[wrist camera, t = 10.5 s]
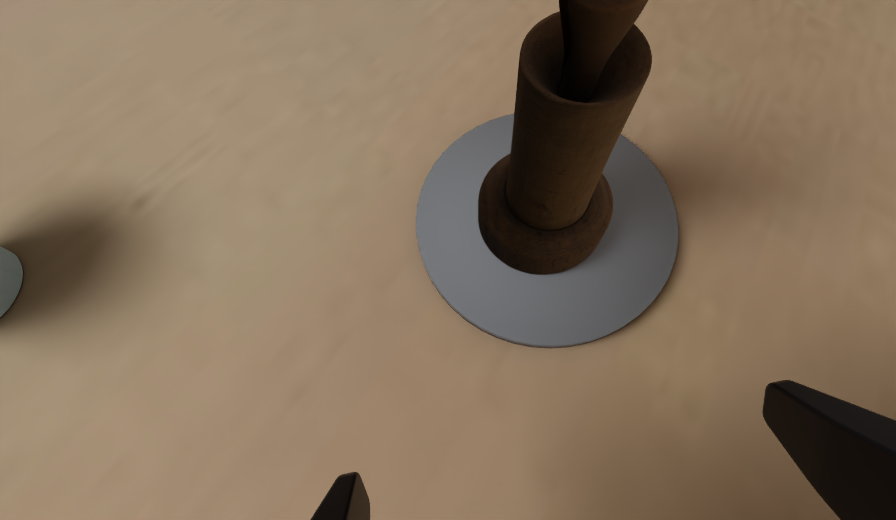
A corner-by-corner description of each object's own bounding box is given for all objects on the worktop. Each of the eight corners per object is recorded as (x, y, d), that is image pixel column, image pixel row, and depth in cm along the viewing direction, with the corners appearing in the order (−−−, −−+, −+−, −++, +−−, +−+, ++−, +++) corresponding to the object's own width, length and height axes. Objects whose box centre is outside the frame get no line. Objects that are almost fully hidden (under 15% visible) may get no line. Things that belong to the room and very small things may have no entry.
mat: (723, 219, 23) (733, 211, 22) (554, 408, 21) (558, 407, 20) (530, 85, 27) (532, 73, 27) (369, 227, 25) (364, 219, 24)
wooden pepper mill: (579, 156, 24) (796, -440, 7) (620, 259, 22) (1075, -273, 5) (466, 183, 24) (426, -356, 7) (495, 289, 22) (537, -147, 5)
